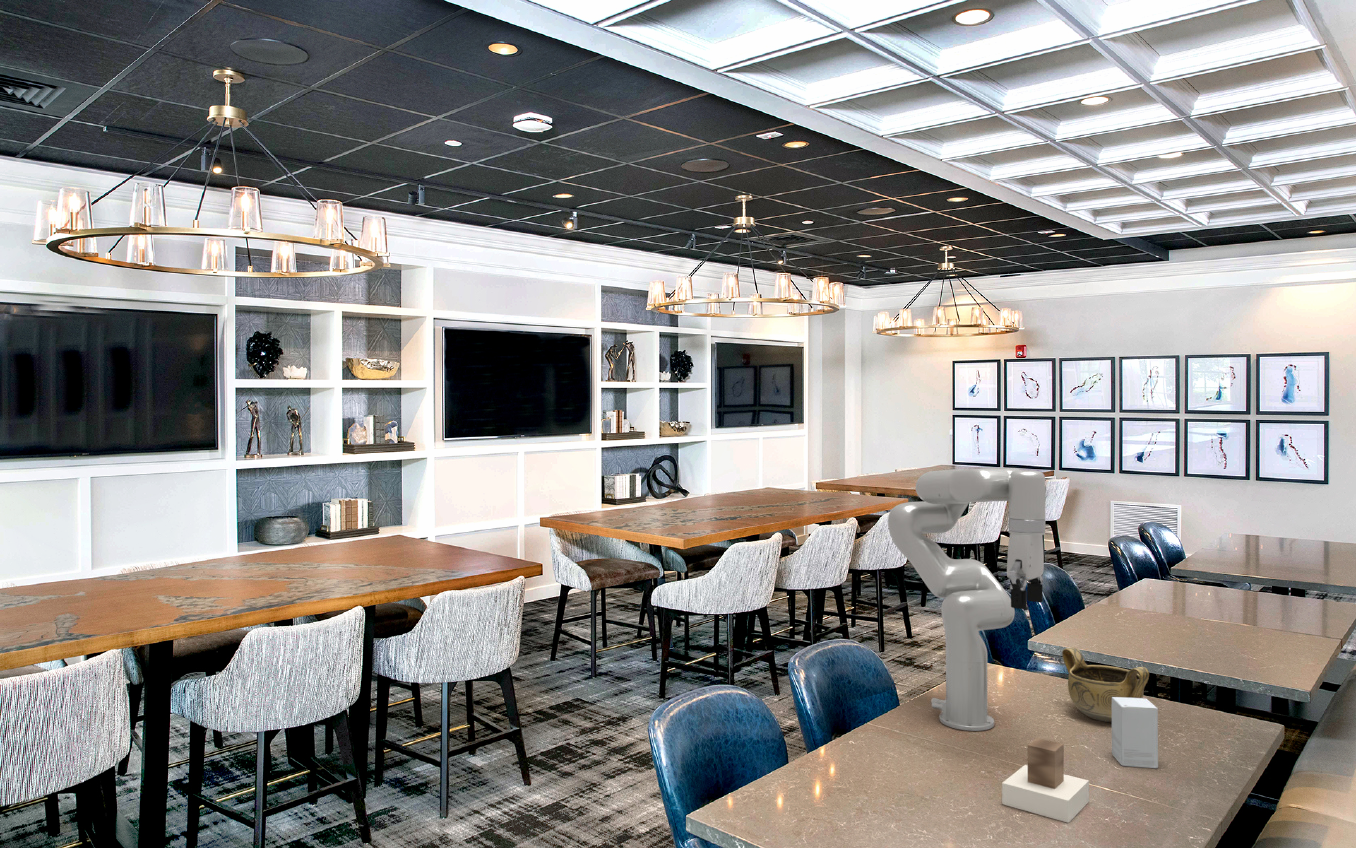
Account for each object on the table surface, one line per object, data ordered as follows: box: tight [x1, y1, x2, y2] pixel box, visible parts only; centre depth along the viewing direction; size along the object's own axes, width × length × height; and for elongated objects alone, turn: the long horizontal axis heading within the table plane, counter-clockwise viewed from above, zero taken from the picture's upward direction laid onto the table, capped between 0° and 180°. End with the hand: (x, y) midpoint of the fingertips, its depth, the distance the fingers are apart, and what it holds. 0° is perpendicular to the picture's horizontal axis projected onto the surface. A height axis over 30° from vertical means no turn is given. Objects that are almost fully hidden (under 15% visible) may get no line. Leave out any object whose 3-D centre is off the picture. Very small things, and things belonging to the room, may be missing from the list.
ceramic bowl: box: [1061, 646, 1150, 723], centre depth 216 cm, size 22×17×15 cm
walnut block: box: [1027, 737, 1065, 789], centre depth 167 cm, size 5×5×7 cm
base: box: [1001, 764, 1090, 824], centre depth 167 cm, size 12×12×4 cm
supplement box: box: [1111, 697, 1159, 769], centre depth 188 cm, size 7×7×13 cm
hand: (1027, 604), depth 193 cm, fingers open, 9 cm apart
